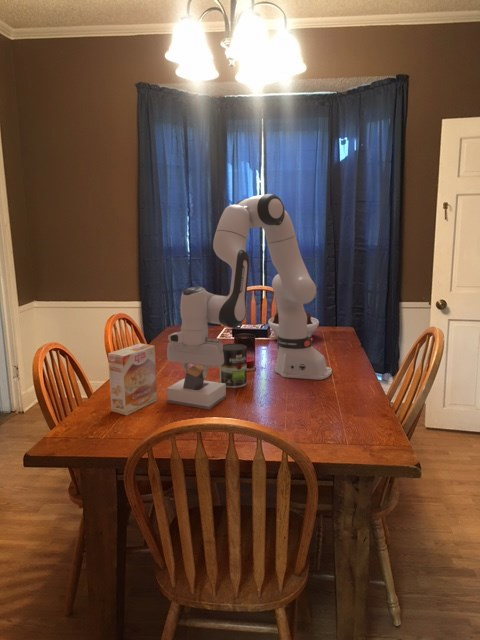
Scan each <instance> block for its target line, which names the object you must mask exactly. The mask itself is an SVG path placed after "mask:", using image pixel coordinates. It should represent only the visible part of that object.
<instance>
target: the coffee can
mask: <svg viewBox="0 0 480 640" xmlns="http://www.w3.org/2000/svg"><path fill="white" fill-rule="evenodd" d="M247 349H248V347H247V346H246V345H245V344H241V343H225V344H224V343H223V354H224V364H223V365H222V366H220V367H219V383H226V389H227V388H229V389H237V388H242V387H245V386H247V385H248V379H247V378H248V374H247V372H248V368H247V365H248V363H247V362H248V361H247V358H248V357H247V352H248V351H247Z"/></svg>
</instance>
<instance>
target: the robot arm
mask: <svg viewBox="0 0 480 640" xmlns="http://www.w3.org/2000/svg"><path fill="white" fill-rule="evenodd" d="M257 228H258V229H259V228H262V229H263V231H264V234H265V238H266V239H265V240H266V243H267V248H268V252H269V255H270V260H271V263H272V265H273V266H274V268H275V269H276V272H277V274H276V275H275V276H274V277H273V279H272V280H271V288H272V290H273V294H274V297H275V303H276V309H277V313H278V317H279V335H278V338H277V342H276V343H277V344H276V345H277V357H276V358H277V359H276V363H275V367H274V372H275V373H276V374H278V375H280V376H281V377H282V378H291V379H303V380H305V379H306V380H324V379H327V378H329V377H330V376H331V375H332V373H333V371H332V368H331V367H329V366H327V360H326V357H325V356H324V355H323V354H322V353H321V352H319V351H318V350H317V348H315V347H313V346H312V344H313V337H310V338H309V337H308V336H307V315H306V313H307V312H306V310H305V308H304V304H309V303H310V302H312V301H313V300H314V299H315V297H316V295H317V294H316V293H317V285H316V284H315V282H314V281H313V279H312V278H311V276H310V273H309V271H308V269H307V267H306V265H305V262H304V260H303V258H302V255H301V252H300V247H299V243H298V239H297V234H296V230H295V228H294V225H293V222H292V219H291V217H290V215H289V213H288V211H286V210H285V205H284V203H283V200H281V198H280V197H279V196H278V195H276V194H272V193H266V194H259V195H253V196H251V197H248V198H246V199H245V198H244V199H240V200H239V201H237V202H236V203H235V204H230V205H228V206H227V207H225V208H224V210H223V212H222V214H221V216H220V218H219V221H218V224H217V227H216V230H215V234H214V237H213V243H212V248H213V251H214V254H215V255H216V257H218V259H220V260H221V261H223V262H225V263H226V264H228V265H229V266H230V268H231V281H230V289H229V293H228V295H220V294H214V293H212V292H208V291H207V290H206V288H204V287H202V286H192V287H188V288H185V289H184V290H183V291H182V293H181V296H180V305H179V306H180V307H179V309H180V318H181V326H180V330H179V331H176V332H174V333H171V334H168V336H167V339H168V341H169V342H168V343H167V348H166V350H167V351H166V357H167V360H168V361H169V362H173V363H181V366H182V368H183V370H184V373H185V376H186V373H187V370H188V369H189V368H190V366H189V365H194V366H195V365H199V366H201V367H203V369H204V371H203V372H201V373H200V375H201V376H200V377H201V378H204V379H206V378H207V376H208V375H207V373H208V370H210V367H211V368H220V366H222V365H223V364H224V354H223V345H224V343H223V342H222V341H221V340H220V339H218V338H211V337H209V325H208V323H211V324H215V325H222V326H224V327H228V328H233V329H235V328H237V327H238V326H240V325H241V324H242V323H243V322H244V320H245V319H246V316H247V293H248V285H249V282H248V281H249V273H250V256H249V254H248V252H247V251H246V250H247V249H246V245H247V240H248V235H249V230H250V229H257Z"/></svg>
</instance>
